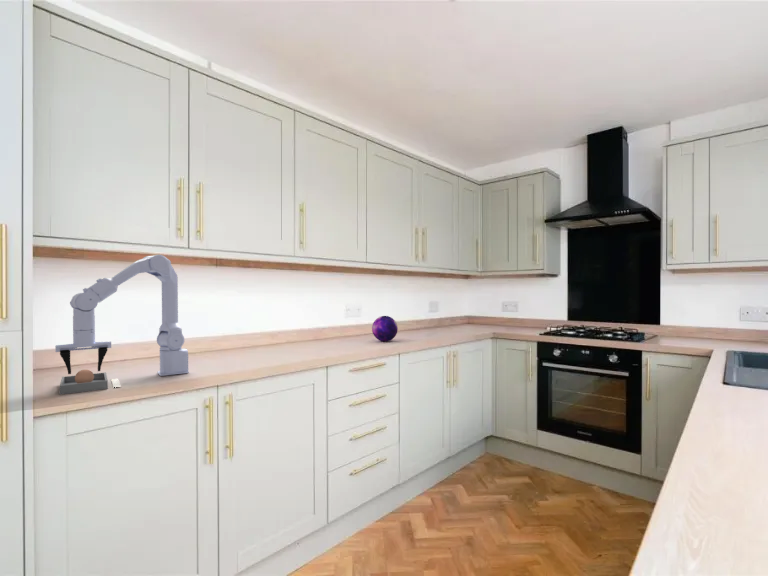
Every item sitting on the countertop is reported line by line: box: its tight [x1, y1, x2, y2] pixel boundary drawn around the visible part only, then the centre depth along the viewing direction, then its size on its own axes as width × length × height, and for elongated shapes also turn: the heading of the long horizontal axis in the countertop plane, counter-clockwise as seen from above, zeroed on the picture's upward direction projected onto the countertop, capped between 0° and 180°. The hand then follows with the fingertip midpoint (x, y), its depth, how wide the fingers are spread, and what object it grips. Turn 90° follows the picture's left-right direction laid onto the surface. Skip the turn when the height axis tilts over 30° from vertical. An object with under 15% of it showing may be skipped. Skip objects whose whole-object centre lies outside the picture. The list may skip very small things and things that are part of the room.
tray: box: [58, 372, 109, 395], centre depth 134 cm, size 12×16×3 cm
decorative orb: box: [371, 315, 399, 343], centre depth 244 cm, size 15×15×15 cm
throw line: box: [110, 378, 122, 389], centre depth 139 cm, size 2×16×1 cm, turn 35°
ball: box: [74, 369, 95, 384], centre depth 134 cm, size 5×5×5 cm
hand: (84, 372), depth 134 cm, fingers open, 7 cm apart
